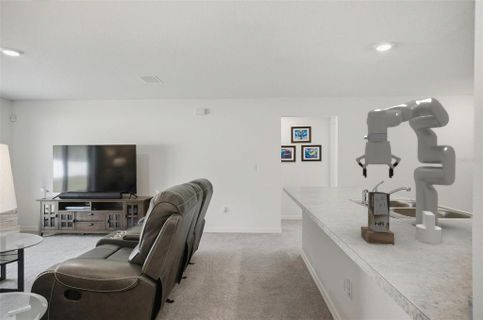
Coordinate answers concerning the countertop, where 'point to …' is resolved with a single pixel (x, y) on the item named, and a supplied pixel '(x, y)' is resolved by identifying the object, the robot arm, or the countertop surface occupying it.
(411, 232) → the countertop surface
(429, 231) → the base with upright slab
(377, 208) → the coffee box
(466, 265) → the countertop surface
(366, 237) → the walnut block
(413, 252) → the countertop surface
